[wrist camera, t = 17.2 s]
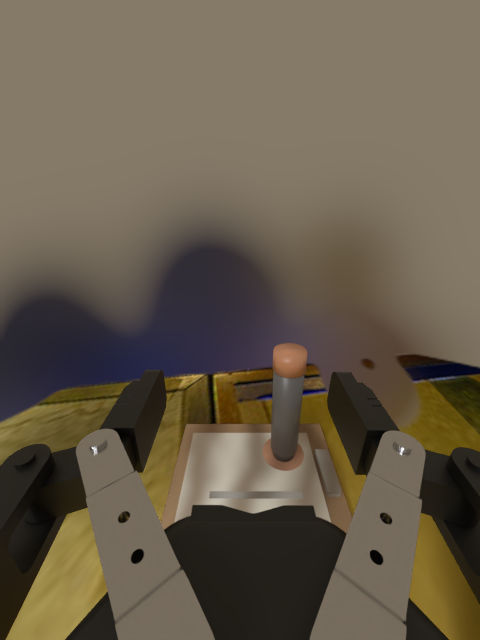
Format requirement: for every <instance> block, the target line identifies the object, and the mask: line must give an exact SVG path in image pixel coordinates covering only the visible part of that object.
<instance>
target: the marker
mask: <svg viewBox="0 0 480 640" xmlns="http://www.w3.org/2000/svg"><path fill="white" fill-rule="evenodd" d="M306 361H307V350H306V349H305V348H304V347H302V346H300V345H297V344H293V343H284V344H279V345H277V346H276V347H275V348H274V353H273V370H274V374H273V398H272V422H271V449H272V452H273V455H274V457H275V458H276V459H277V460H279V461H282V462H288V461H290V460H292V459H293V457H294V454H295V453H296V451H297V446H298V436H299V425H300V415H301V404H302V394H303V383H304V374H305V371H306Z"/></svg>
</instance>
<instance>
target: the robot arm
mask: <svg viewBox="0 0 480 640" xmlns="http://www.w3.org/2000/svg"><path fill="white" fill-rule="evenodd" d="M166 399H167V398H166V389H165V381H164V374H163V371H162V370H145V372H144V374H143V375H142V377H141V379H140V381H132V382H131V383H130V384H129V385H128V386H126V387H125V388H124V390H123V391H122V393H121V395H120V398H118V400H117V401H116V404H115V405H114V406H113V408H112V410H111V411H110V413H109V414H108V416H107V418H106V419H105V421H104V423H103V424H102V426H101V428H100V429H99V430H97V431H94V432H92V433H90V434H88V435H87V436H86V437H84V438H83V439H82V440H81V441H80V442H79V444H78V446H77V447H73V448H70V449H66V450H62V451H58V452H54V453H51V451H50V449H49V447H48V446H47V445H44V444H34V445H30V446H27V447H24V448H22V449H20V450H18V451H16V452H15V453H13V454H12V455H11V456H9V457H8V458H7V459H6V460H5V461H4V462H3V464H2V465H1V466H0V640H5V639H6V637H7V635H8V633H9V631H10V629H11V627H12V625H13V623H14V621H15V619H16V617H17V615H18V613H19V611H20V609H21V607H22V605H23V603H24V601H25V599H26V597H27V595H28V592H29V590H30V588H31V586H32V584H33V582H34V580H35V578H36V576H37V574H38V572H39V570H40V568H41V566H42V564H43V562H44V560H45V558H46V556H47V554H48V552H49V550H50V548H51V545H52V543H53V541H54V539H55V537H56V535H57V533H58V531H59V529H60V527H61V525H62V523H63V521H64V519H65V517H66V515H67V514H69V513H72V512H75V511H78V510H81V509H84V508H88V511H89V515H90V519H91V523H92V527H93V532H94V536H95V540H96V544H97V548H98V552H99V557H100V561H101V565H102V569H103V573H104V578H105V582H106V586H107V590H108V592H107V593H106V594H105V595H104V596H103V597H102V599H101V600H100V601H99V602H98V603H97V604H96V605H95V606H94V608H93V609H92V610H91V611H90V612H89V613H88V614H87V615H86V617H85V618H84V619H83V620H82V621H81V622H80V623H79V625H78V626H77V627H76V628H75V629H74V630H73V631H72V632H71V634H70V635H69V636H68V637H67V638H66V639H65V640H449V639H448V638H447V637H446V636H445V635H444V634H443V633H442V632H441V631H440V630H439V629H438V628H437V627H436V626H435V625H434V624H433V622H432V621H431V620H430V619H429V618H428V617H427V616H426V615H425V614H424V613H423V612H422V611H421V610H420V609H419V608H418V607H417V606H416V605H415V604H414V603H413V602H412V601H411V600H410V598H409V592H410V584H411V577H412V570H413V563H414V556H415V549H416V542H417V535H418V528H419V521H420V514H421V513H424V514H427V515H430V516H432V518H433V520H434V521H435V523H436V525H437V527H438V529H439V531H440V532H441V534H442V536H443V538H444V540H445V542H446V543H447V545H448V547H449V549H450V551H451V553H452V554H453V556H454V558H455V560H456V562H457V564H458V565H459V567H460V569H461V571H462V573H463V575H464V576H465V578H466V580H467V582H468V584H469V586H470V587H471V589H472V591H473V593H474V595H475V597H476V598H477V600H478V602H479V604H480V452H478V451H475V450H473V449H469V448H463V447H459V448H456V449H454V450H453V451H452V453H451V455H450V456H447V455H443V454H439V453H435V452H431V451H428V450H425V449H424V448H423V446H422V445H421V444H420V443H419V442H418V441H417V440H416V439H415V438H413V437H412V436H410V435H408V434H406V433H403V432H400V431H399V429H398V428H397V426H396V425H395V423H394V422H393V420H392V419H391V417H390V416H389V415H388V413H387V412H386V410H385V409H384V408H383V407H382V404H381V403H380V401H379V400H377V397H376V396H375V394H374V393H373V391H372V390H371V389H370V388H368V387H367V386H366V385H364V384H363V383H357V381H356V380H355V378H354V377H353V375H352V373H351V372H333V373H332V376H331V381H330V387H329V393H328V399H327V403H328V409H329V412H330V415H331V417H332V420H333V422H334V424H335V427H336V429H337V432H338V434H339V436H340V439H341V441H342V444H343V446H344V448H345V451H346V453H347V456H348V458H349V460H350V463H351V465H352V468H353V470H354V472H355V475H366V476H367V478H366V481H365V484H364V487H363V490H362V492H361V495H360V498H359V501H358V504H357V506H356V509H355V512H354V515H353V518H352V521H351V523H350V526H349V529H348V532H347V534H346V533H345V532H344V531H343V530H342V529H340V528H339V527H337V526H336V525H334V524H332V523H331V522H329V521H327V520H324V519H322V518H319V517H316V514H315V510H314V506H313V505H283V506H280V507H276V508H273V509H269V510H266V511H262V512H259V513H248V512H245V511H241V510H238V509H234V508H231V507H227V506H224V505H192V512H191V516H188V517H185V518H183V519H180V520H178V521H176V522H175V523H173V524H171V525H170V526H168V527H167V528H166V529H163V527H162V525H161V523H160V520H159V518H158V516H157V514H156V512H155V509H154V507H153V505H152V503H151V500H150V498H149V496H148V494H147V492H146V489H145V487H144V485H143V483H142V480H141V478H140V476H139V474H138V472H143V471H144V468H145V465H146V462H147V459H148V457H149V454H150V451H151V448H152V445H153V442H154V440H155V437H156V434H157V431H158V428H159V425H160V423H161V420H162V417H163V414H164V411H165V408H166Z"/></svg>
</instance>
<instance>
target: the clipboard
mask: <svg viewBox="0 0 480 640" xmlns="http://www.w3.org/2000/svg"><path fill="white" fill-rule="evenodd" d="M192 505H224V506H227V507H231V508H234V509H238V510H241V511H245V512H248V513H259V512H262V511H266V510H269V509H273V508H276V507H280V506H283V505H313V506H314V510H315V514H316V517H319V518H322V519H324V520H327V521H329V522H331V523H332V524H334V525H336V526H337V527H339V528H340V529H342V530H343V531H344V532H345V533H346V534H347V532H348V529H349V526H350V523H351V521H352V515H351V513H350V510H349V507H348V504H347V501H346V498H345V495H344V492H343V490H342V487H341V484H340V481H339V478H338V475H337V472H336V469H335V467H334V464H333V461H332V458H331V455H330V452H329V449H328V446H327V444H326V441H325V438H324V435H323V432H322V429H321V426H320V424H300V425H299V436H298V446H297V451H296V453H295V454H294V457H293V459H292V460H290V461H288V462H282V461H279V460H277V459H276V458H275V457H274V455H273V452H272V449H271V424H186V427H185V431H184V435H183V439H182V443H181V447H180V450H179V454H178V458H177V462H176V466H175V470H174V474H173V478H172V482H171V485H170V489H169V493H168V497H167V501H166V505H165V509H164V513H163V517H162V520H161V525H162V527H163V529H166V528H167V527H168V526H170V525H171V524H173V523H175V522H176V521H178V520H180V519H183V518H185V517H188V516H191V512H192Z"/></svg>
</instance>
